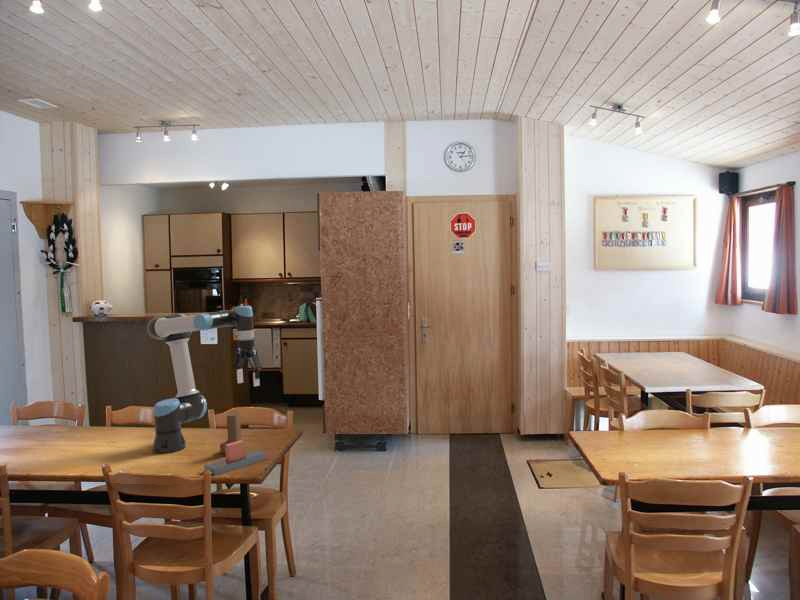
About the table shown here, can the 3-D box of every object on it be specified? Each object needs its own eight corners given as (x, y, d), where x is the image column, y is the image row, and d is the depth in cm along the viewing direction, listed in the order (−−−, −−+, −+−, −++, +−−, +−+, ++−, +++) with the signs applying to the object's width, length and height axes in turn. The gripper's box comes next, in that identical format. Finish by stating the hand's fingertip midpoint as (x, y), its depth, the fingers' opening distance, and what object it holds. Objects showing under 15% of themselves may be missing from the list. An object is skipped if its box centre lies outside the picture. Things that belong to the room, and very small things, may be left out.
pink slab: (226, 467, 268) (225, 444, 267) (242, 462, 273) (240, 440, 273) (230, 468, 266) (228, 445, 265) (246, 463, 271) (244, 441, 271)
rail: (204, 471, 263) (204, 464, 263) (256, 456, 282) (256, 449, 282) (214, 475, 257) (213, 468, 257) (266, 459, 276) (266, 452, 276)
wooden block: (220, 453, 288) (217, 415, 287) (225, 450, 292) (223, 413, 291) (237, 454, 286) (234, 416, 285) (242, 451, 290) (239, 413, 289)
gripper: (224, 338, 292) (227, 383, 293) (254, 341, 275) (256, 388, 276) (238, 336, 297) (240, 380, 299) (268, 339, 280) (270, 385, 282)
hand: (248, 384), depth 287 cm, fingers open, 13 cm apart
